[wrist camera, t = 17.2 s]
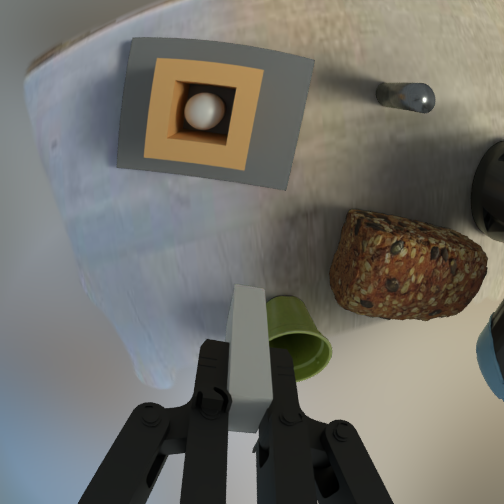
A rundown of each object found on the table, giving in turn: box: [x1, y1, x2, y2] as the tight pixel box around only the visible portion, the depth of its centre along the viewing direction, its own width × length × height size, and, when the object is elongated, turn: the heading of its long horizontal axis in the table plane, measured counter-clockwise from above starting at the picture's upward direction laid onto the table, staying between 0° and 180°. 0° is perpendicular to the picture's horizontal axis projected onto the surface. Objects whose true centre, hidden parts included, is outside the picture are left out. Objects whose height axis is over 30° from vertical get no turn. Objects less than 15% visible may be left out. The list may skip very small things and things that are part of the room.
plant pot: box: [266, 296, 332, 382], centre depth 37 cm, size 9×9×9 cm
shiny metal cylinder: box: [376, 83, 435, 113], centre depth 24 cm, size 3×3×8 cm
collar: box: [144, 58, 264, 170], centre depth 24 cm, size 8×8×7 cm
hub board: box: [117, 37, 315, 191], centre depth 25 cm, size 18×14×8 cm
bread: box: [329, 209, 488, 321], centre depth 33 cm, size 19×11×10 cm, turn 81°
